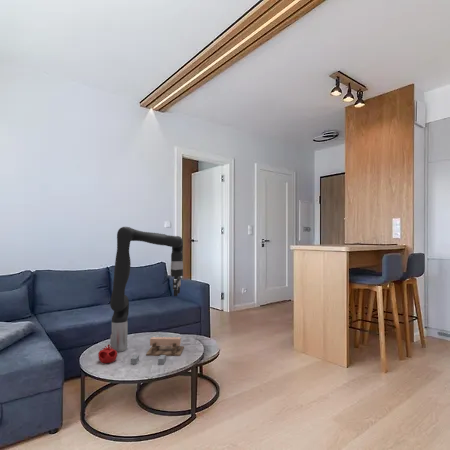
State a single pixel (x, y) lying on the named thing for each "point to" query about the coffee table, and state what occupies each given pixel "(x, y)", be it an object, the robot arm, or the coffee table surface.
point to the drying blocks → (160, 360)
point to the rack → (165, 350)
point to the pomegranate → (107, 355)
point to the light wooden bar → (165, 341)
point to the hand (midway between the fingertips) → (176, 294)
